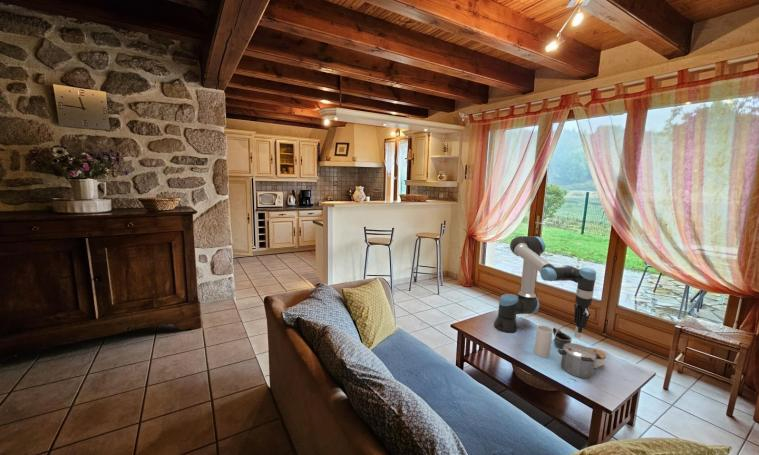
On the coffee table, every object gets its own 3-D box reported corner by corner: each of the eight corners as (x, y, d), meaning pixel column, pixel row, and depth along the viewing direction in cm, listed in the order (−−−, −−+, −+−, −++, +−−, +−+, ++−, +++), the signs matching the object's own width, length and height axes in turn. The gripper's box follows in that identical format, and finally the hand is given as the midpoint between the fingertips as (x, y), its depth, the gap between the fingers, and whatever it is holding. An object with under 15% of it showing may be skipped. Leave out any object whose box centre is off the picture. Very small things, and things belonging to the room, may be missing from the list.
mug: (563, 351, 195) (565, 336, 194) (545, 341, 207) (547, 327, 205) (573, 349, 199) (576, 334, 198) (555, 339, 211) (557, 325, 209)
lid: (558, 343, 184) (558, 340, 184) (587, 346, 182) (587, 343, 182) (572, 360, 167) (572, 357, 167) (604, 364, 165) (604, 361, 165)
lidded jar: (577, 361, 186) (579, 346, 184) (589, 358, 190) (591, 343, 188) (595, 372, 176) (598, 356, 174) (608, 368, 180) (610, 352, 179)
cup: (551, 358, 188) (554, 332, 185) (536, 356, 189) (539, 330, 187) (546, 350, 196) (550, 326, 193) (532, 348, 197) (535, 324, 195)
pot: (550, 358, 187) (552, 342, 185) (588, 363, 184) (591, 346, 183) (562, 375, 171) (565, 357, 169) (603, 380, 169) (607, 362, 167)
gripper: (571, 291, 181) (565, 330, 185) (582, 300, 169) (575, 342, 172) (585, 293, 180) (579, 332, 184) (597, 301, 168) (590, 343, 171)
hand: (577, 336), depth 178 cm, fingers closed
